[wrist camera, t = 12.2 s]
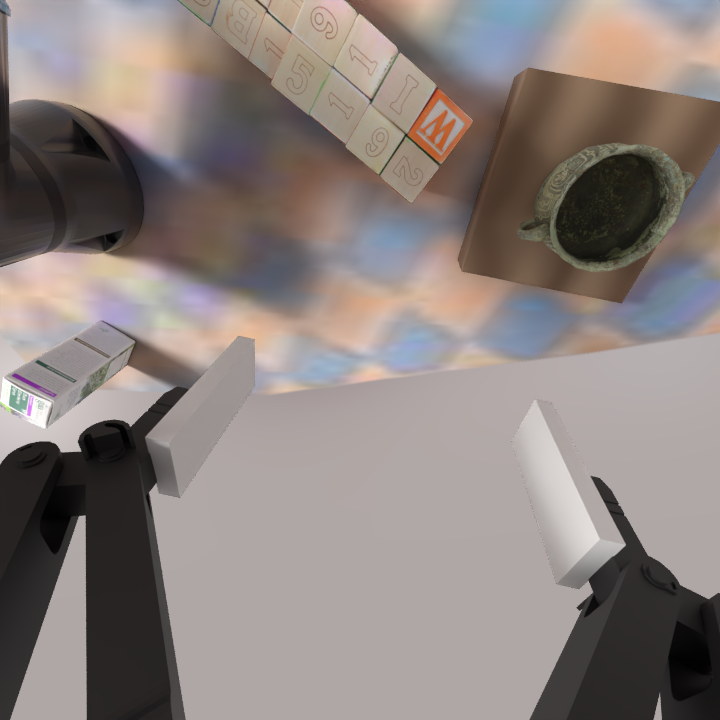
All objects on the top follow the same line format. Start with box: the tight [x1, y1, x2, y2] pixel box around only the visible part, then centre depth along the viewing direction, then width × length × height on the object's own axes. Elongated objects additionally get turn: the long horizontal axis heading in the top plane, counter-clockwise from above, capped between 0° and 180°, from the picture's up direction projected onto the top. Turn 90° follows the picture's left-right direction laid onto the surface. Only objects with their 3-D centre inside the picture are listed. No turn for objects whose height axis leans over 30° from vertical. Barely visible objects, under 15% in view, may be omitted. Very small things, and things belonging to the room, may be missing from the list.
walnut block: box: [458, 68, 720, 303], centre depth 32 cm, size 16×16×5 cm
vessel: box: [517, 143, 695, 272], centre depth 28 cm, size 12×9×6 cm
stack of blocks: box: [178, 0, 473, 203], centre depth 27 cm, size 21×6×12 cm, turn 54°
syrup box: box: [0, 321, 135, 429], centre depth 46 cm, size 6×6×14 cm
